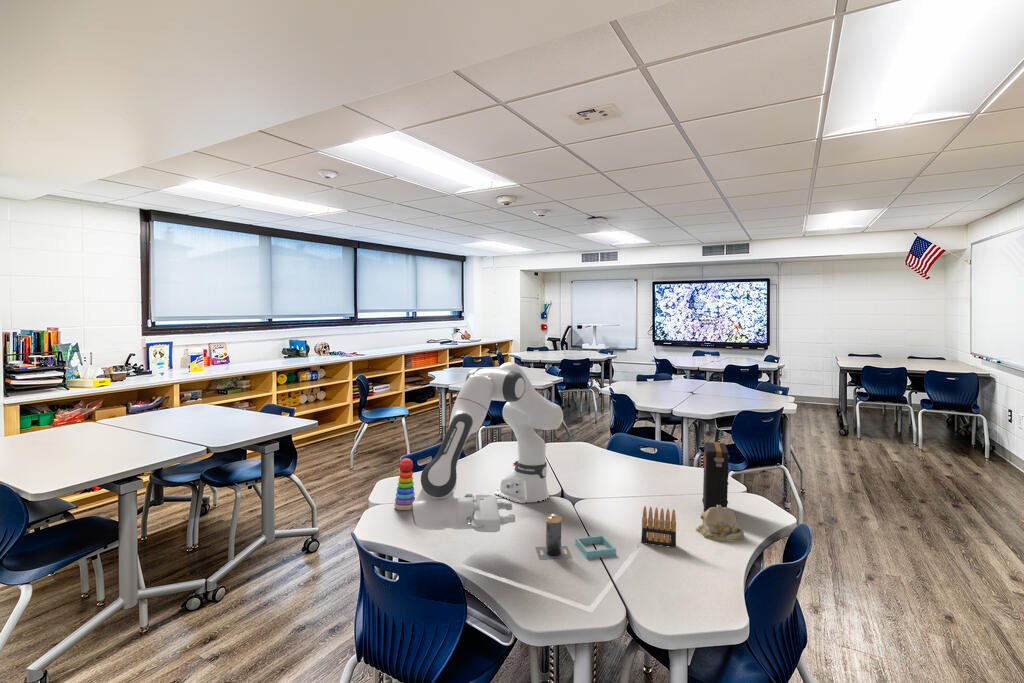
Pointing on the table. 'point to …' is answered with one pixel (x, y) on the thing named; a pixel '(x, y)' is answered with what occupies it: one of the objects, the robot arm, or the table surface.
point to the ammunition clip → (659, 528)
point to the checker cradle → (543, 556)
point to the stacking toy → (405, 486)
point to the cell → (553, 534)
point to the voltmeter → (715, 475)
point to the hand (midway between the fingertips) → (513, 512)
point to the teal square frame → (595, 553)
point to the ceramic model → (720, 524)
